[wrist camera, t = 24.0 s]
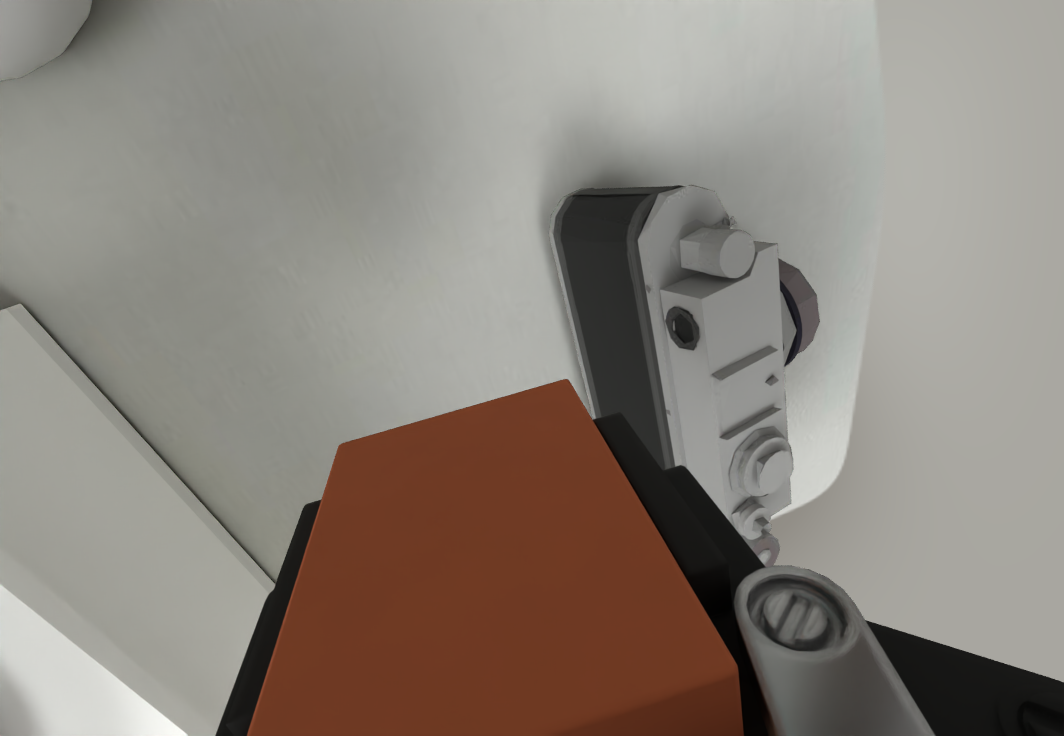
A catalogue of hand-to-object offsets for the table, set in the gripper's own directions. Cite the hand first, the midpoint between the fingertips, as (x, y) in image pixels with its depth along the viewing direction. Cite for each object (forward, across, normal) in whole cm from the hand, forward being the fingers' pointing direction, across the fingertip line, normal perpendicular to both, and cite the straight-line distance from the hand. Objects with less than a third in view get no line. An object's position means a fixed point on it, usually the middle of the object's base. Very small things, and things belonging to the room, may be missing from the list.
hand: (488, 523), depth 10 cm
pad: (+1, 0, 0) cm, 1 cm away
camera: (+15, -10, +4) cm, 18 cm away
